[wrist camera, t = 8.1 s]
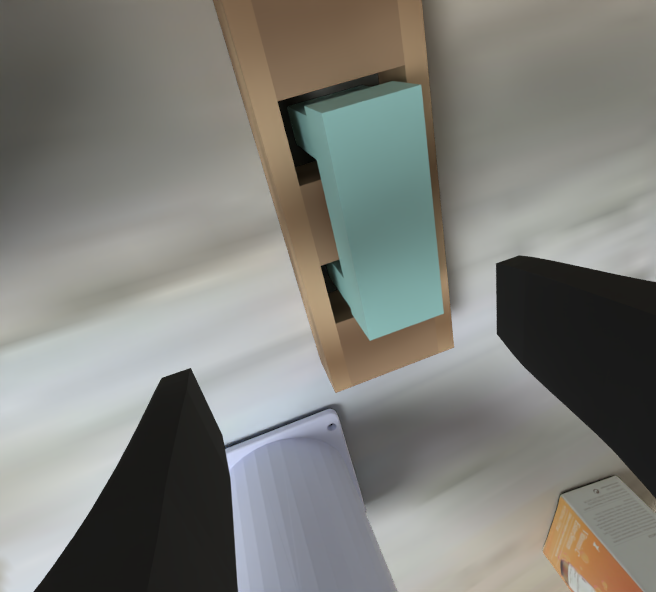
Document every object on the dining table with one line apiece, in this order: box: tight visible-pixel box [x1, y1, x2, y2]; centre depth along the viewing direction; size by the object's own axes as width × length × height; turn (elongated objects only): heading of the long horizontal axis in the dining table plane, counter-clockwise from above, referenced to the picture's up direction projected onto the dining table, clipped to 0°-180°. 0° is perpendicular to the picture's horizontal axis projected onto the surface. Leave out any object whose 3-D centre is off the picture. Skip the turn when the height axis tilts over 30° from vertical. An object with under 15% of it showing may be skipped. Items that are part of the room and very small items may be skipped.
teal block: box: [287, 81, 444, 341], centre depth 17 cm, size 8×3×5 cm, turn 13°
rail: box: [213, 0, 454, 393], centre depth 18 cm, size 16×6×2 cm, turn 13°
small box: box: [543, 476, 656, 592], centre depth 33 cm, size 8×6×10 cm
